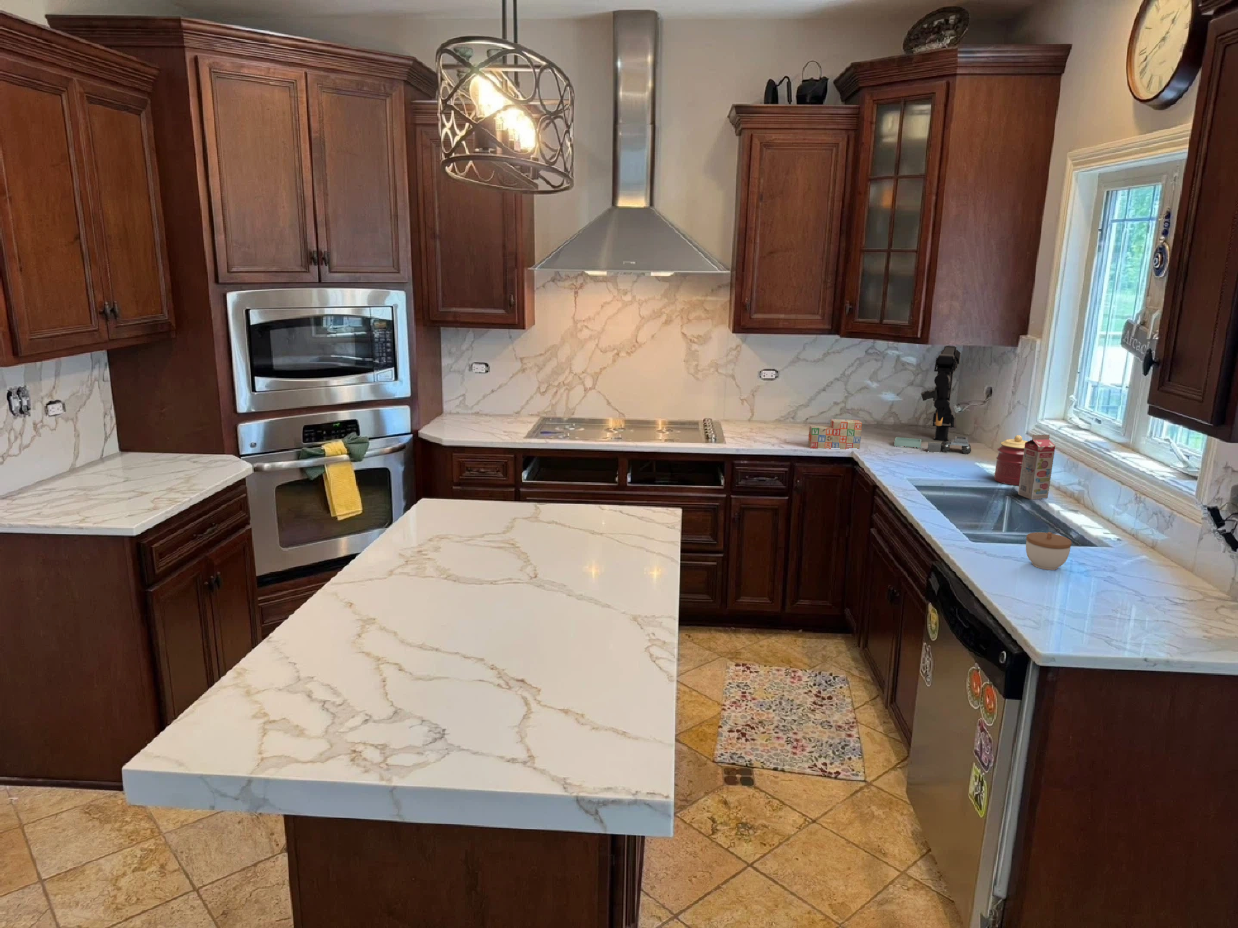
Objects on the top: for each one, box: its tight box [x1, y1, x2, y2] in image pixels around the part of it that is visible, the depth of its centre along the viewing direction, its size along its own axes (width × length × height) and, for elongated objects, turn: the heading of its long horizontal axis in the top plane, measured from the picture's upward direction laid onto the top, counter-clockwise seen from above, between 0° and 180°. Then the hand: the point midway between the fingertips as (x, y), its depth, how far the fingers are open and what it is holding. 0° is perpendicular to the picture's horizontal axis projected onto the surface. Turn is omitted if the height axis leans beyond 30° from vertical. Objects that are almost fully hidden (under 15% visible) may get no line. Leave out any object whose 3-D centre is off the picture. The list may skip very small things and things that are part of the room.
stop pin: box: [935, 416, 943, 427], centre depth 358 cm, size 3×3×7 cm
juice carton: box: [1017, 434, 1056, 500], centre depth 286 cm, size 7×7×22 cm
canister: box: [993, 434, 1029, 486], centre depth 306 cm, size 13×13×18 cm
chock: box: [927, 442, 942, 453], centre depth 357 cm, size 4×5×4 cm
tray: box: [893, 436, 922, 449], centre depth 366 cm, size 6×11×3 cm, turn 69°
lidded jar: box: [1025, 531, 1073, 571], centre depth 220 cm, size 11×11×9 cm
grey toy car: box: [940, 435, 972, 455], centre depth 357 cm, size 8×12×6 cm, turn 69°
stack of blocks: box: [807, 418, 863, 450], centre depth 359 cm, size 21×6×12 cm, turn 87°
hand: (939, 420), depth 358 cm, fingers closed on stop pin, 3 cm apart
